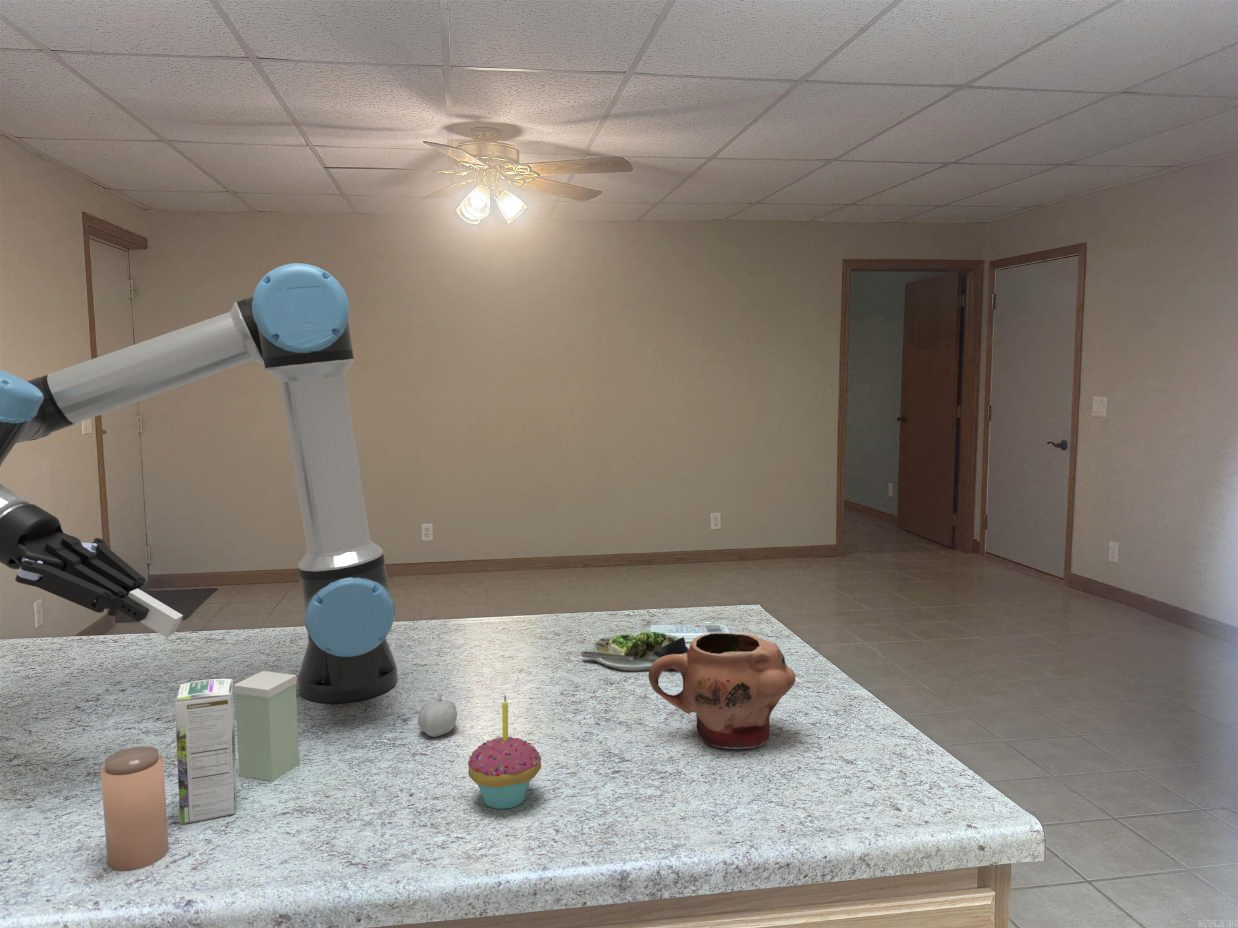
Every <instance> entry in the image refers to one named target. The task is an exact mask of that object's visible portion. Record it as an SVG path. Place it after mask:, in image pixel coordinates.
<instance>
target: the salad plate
mask: <svg viewBox="0 0 1238 928" xmlns="http://www.w3.org/2000/svg"><path fill="white" fill-rule="evenodd" d="M592 648H593V651H588V650H587V651H582V652H580V656H581V657H582V658H586V659H589V660H593V661H596V662H598V663H600V664H601V665H604V666H607V667H610V668H612V669H616V670H620V671H626V672H640V671H641V672H642V671H645V672H646V671H649V670H650V668H651V666H652V664H653V663H654V662H655V661H656V660H657V659H659V658H661V657H663V656H666V655H671V654H684V653H687V652H688V651H689V648H688V647H687V644H686V639H685V637H684V636H682V637H680V638H679V636H676V635H674V634H670V633H669V634H667V633H664V632H662V633H661V632H657V631H647V632H644V631H643V632H640V633H638V634H635V635H634V634H633V635H632V634H631V635H630V634H617V635H612V636H611V635H610V636H605V637H601V638H599V639H597V640H596V641H595V642H594V643H593V644H592Z"/></svg>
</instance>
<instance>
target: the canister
mask: <svg viewBox="0 0 1238 928" xmlns="http://www.w3.org/2000/svg"><path fill="white" fill-rule="evenodd" d="M164 769H165V767H164V757H163V755H162V754H161V753H159V750H158V749H157V748H156V747H154V746H150V745H149V746H146V745H143V746H135V747H134V746H133V747H129V748H124V749H122V750H118V751H117V752H114V753H112V754H110V755H108V757H106V758H105V759H104V765H102V766H101V768H100V781H101V795H102V807H103V809H102V810H103V821H104V836H105V850H106V851H105V852H106V860H107V861H106V863H107V867H108V868H110V869H111V870H114V871H119V872H120V871H121V872H126V871H128V872H129V871H134V870H139V869H142V868H145V867H148V866H150V865H152V864H155V863H157V862H158V861H160V860H161V859H163V858H164V857H165V856H166V855H167V854H168V852H169V849H170V848H169V846H170V845H169V832H168V830H169V829H168V828H169V827H168V816H167V814H168V813H167V812H168V811H167V802H166V801H167V800H166V799H167V798H166V785H165V783H166V782H165V770H164Z"/></svg>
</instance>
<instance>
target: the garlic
mask: <svg viewBox="0 0 1238 928" xmlns="http://www.w3.org/2000/svg"><path fill="white" fill-rule="evenodd" d="M442 696H443V694H442V693H438V695H437V699H433V700H431V701H428V702H425V703H424V704H423V705H422V706H421V707H420V711H419V714H418V717H417V718H418V719H417V722H418V727H419V728H420V730H421V731H422V732H424V733H425V734H427V736H429V737H432V738H436V737H440V736H443V735H446V734H447V733H450V731H452V730H453V728H454V727H455V726H456V722H457V718H458V711H457V705H456V704H455V703H454V702H453V701H451V700H444V699H442Z"/></svg>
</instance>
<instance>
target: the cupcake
mask: <svg viewBox="0 0 1238 928" xmlns="http://www.w3.org/2000/svg"><path fill="white" fill-rule="evenodd" d="M503 697H504V698H503V699H504V700H503V702H501V705H502V711H501V712H502V715H501V716H502V719H501V720H502V722H501V723H502V737H496V738H493V739H491V740H486V741H485V742H483V743H482V744H480V745H478V746H477V748H476V749H475V750H473V751H472V753H471V755H469V757H468V762H467V765H468V770H467V771H468V772H467V774H468V776H469V778H470V779H471V780H472V781H473V783H475V784H476V785H477V787H478V788H479V790H480V793H481V796H482V799H483V802H484V804H485V805H486V806H488V807H489V808H491V809H496V810H507V809H512V808H516V807H517V806H520V805H521V804H522V803H523V802H524V800H525V798H526V794H527V790H528V787H529V786H530V782H531V781H532V780H533V779H534V778H535V777H536V776H537V775H538V773H539V772H540V770H541V769H542V756H541V755H540V752H539V751H538V749H537V748H536V747H535V746H534V745H532V744H531V742H527V740H524V739H521V738H519V737H512V736H509V702H508V701H507V695H506V694H504V696H503Z"/></svg>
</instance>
